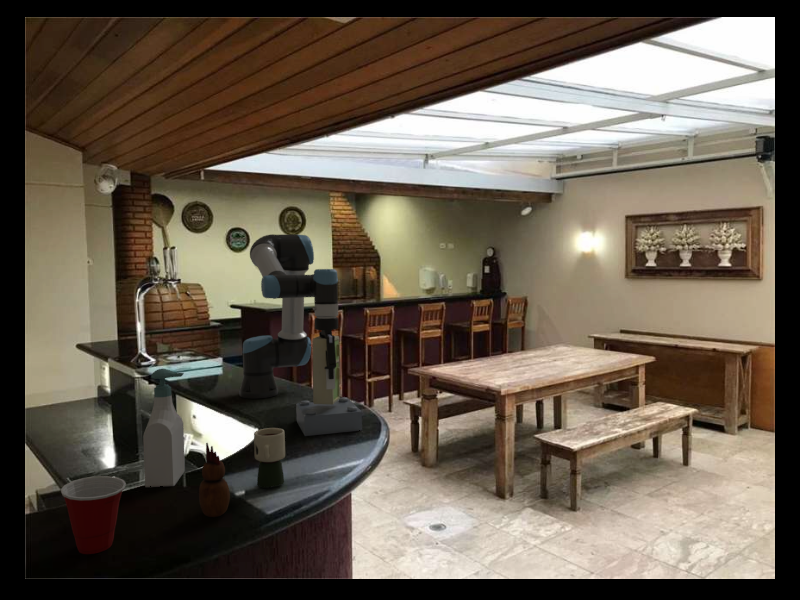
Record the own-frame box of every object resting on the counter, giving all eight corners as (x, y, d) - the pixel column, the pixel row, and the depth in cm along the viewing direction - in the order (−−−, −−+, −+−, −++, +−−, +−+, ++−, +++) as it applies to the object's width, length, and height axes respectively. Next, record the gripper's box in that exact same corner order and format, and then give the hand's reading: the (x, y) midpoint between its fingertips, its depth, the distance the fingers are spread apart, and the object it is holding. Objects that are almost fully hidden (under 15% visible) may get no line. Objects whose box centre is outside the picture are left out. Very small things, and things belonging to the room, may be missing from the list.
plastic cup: (114, 560, 106) (111, 494, 105) (51, 562, 105) (48, 497, 104) (137, 532, 116) (135, 473, 116) (80, 534, 116) (78, 474, 115)
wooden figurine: (196, 511, 126) (194, 442, 125) (223, 505, 129) (221, 437, 128) (205, 523, 120) (203, 451, 119) (233, 515, 124) (231, 445, 123)
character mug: (259, 477, 146) (258, 425, 145) (288, 476, 146) (287, 425, 145) (251, 495, 135) (249, 439, 134) (282, 494, 135) (281, 438, 134)
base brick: (296, 421, 197) (296, 400, 197) (349, 416, 203) (349, 396, 202) (304, 435, 180) (304, 413, 180) (361, 430, 186) (361, 408, 185)
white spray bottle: (181, 486, 140) (177, 372, 139) (145, 488, 139) (140, 373, 138) (192, 470, 151) (188, 364, 150) (158, 471, 150) (154, 365, 149)
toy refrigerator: (335, 405, 186) (333, 339, 185) (312, 404, 188) (311, 338, 186) (342, 399, 194) (341, 335, 193) (321, 398, 196) (319, 335, 194)
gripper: (309, 314, 199) (310, 379, 200) (320, 320, 178) (322, 393, 179) (331, 313, 201) (332, 378, 203) (345, 319, 180) (346, 392, 181)
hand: (327, 385), depth 191 cm, fingers closed on toy refrigerator, 10 cm apart
